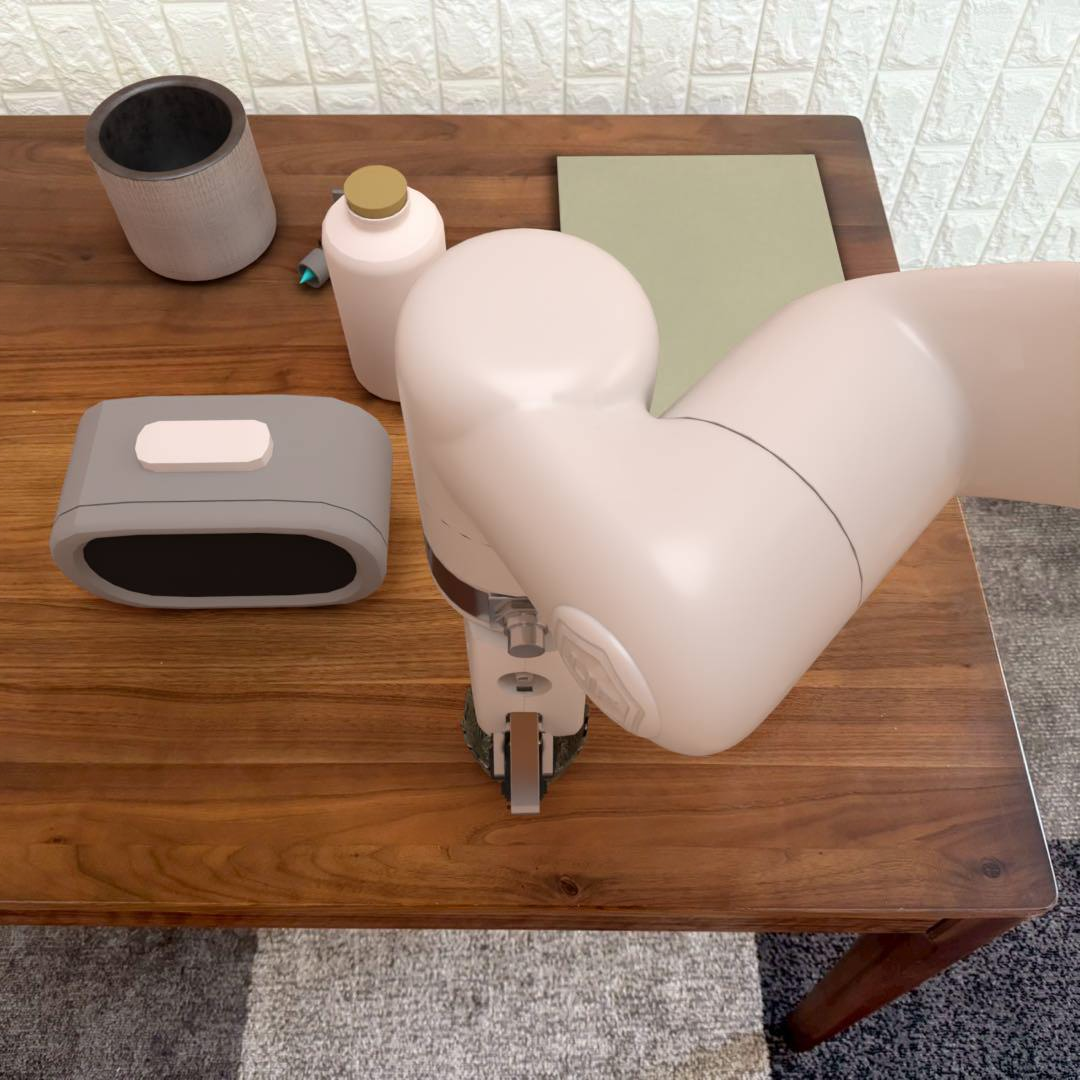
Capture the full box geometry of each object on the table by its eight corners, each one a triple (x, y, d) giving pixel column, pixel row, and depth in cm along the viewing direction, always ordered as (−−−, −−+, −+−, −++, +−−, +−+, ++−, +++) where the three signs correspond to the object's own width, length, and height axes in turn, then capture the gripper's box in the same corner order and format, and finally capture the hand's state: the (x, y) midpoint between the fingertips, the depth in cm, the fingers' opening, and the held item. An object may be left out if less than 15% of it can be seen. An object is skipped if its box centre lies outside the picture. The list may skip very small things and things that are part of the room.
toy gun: (287, 286, 81) (274, 242, 77) (374, 203, 86) (366, 158, 82) (378, 335, 79) (370, 293, 75) (462, 246, 84) (459, 202, 79)
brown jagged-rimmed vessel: (482, 690, 64) (476, 643, 57) (591, 710, 63) (599, 665, 56) (456, 800, 60) (447, 765, 53) (572, 822, 60) (577, 790, 53)
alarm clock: (98, 618, 66) (6, 520, 54) (123, 500, 71) (43, 387, 59) (397, 612, 67) (370, 515, 55) (403, 496, 71) (379, 383, 60)
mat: (891, 485, 72) (894, 481, 72) (573, 490, 72) (574, 486, 71) (812, 159, 90) (814, 154, 89) (556, 161, 89) (556, 156, 89)
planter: (112, 218, 85) (58, 107, 75) (243, 166, 88) (207, 54, 78) (167, 309, 80) (116, 203, 70) (303, 250, 83) (274, 141, 73)
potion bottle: (431, 421, 75) (405, 248, 59) (335, 388, 76) (286, 211, 60) (474, 344, 78) (461, 162, 63) (382, 315, 80) (347, 129, 64)
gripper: (639, 751, 32) (599, 848, 47) (608, 348, 40) (582, 540, 56) (415, 756, 32) (447, 852, 47) (430, 349, 40) (452, 542, 55)
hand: (520, 683), depth 51 cm, fingers open, 9 cm apart
